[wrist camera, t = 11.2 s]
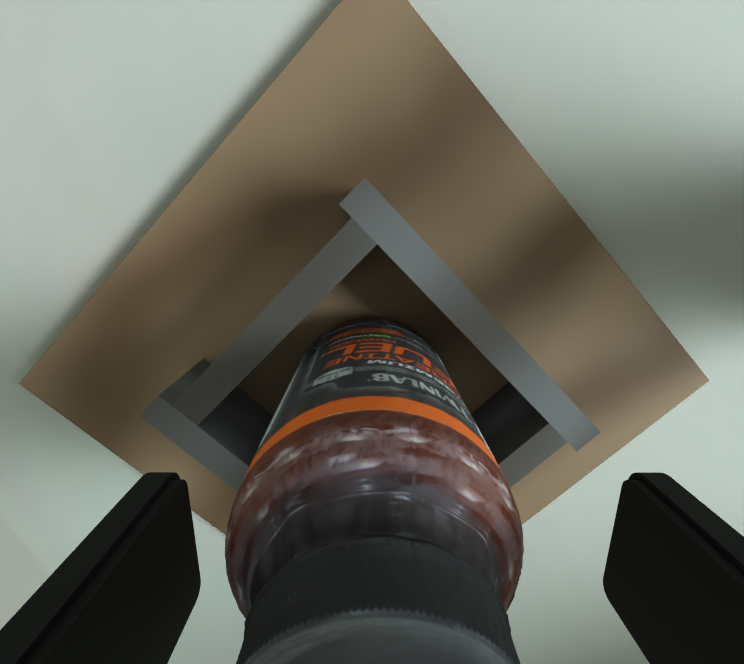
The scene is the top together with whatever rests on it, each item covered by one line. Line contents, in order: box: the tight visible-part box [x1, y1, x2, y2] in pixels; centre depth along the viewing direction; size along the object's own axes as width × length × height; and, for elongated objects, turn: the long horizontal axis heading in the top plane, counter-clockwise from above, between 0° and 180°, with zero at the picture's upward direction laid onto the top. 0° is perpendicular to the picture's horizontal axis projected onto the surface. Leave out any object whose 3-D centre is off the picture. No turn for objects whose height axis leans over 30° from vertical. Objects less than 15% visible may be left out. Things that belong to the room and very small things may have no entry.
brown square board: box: [19, 0, 709, 535], centre depth 14 cm, size 20×20×4 cm
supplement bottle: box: [225, 317, 524, 664], centre depth 10 cm, size 6×6×11 cm
